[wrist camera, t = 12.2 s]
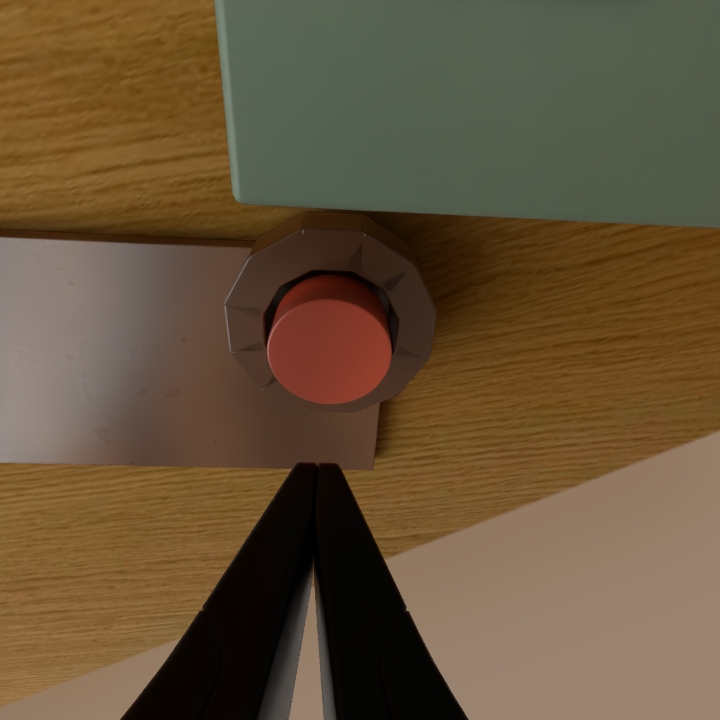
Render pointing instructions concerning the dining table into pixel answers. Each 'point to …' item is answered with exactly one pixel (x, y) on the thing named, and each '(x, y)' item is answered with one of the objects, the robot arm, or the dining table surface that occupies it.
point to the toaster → (476, 107)
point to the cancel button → (330, 340)
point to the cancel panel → (189, 345)
